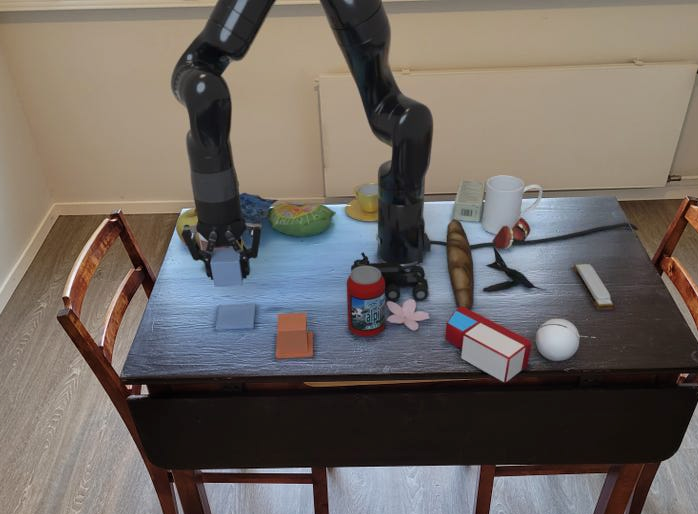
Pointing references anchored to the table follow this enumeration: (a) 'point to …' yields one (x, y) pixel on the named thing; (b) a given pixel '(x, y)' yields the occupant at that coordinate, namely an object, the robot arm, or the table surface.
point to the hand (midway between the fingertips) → (229, 276)
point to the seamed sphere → (557, 339)
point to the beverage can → (366, 301)
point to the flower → (406, 314)
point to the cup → (364, 203)
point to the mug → (505, 202)
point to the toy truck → (488, 344)
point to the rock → (255, 206)
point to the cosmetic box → (469, 200)
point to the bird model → (511, 273)
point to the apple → (187, 223)
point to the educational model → (300, 218)
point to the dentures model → (512, 234)
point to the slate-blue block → (226, 267)
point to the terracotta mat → (298, 354)
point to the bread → (460, 264)
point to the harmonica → (593, 286)
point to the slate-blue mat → (236, 317)
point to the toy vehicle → (398, 278)
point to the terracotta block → (292, 332)
